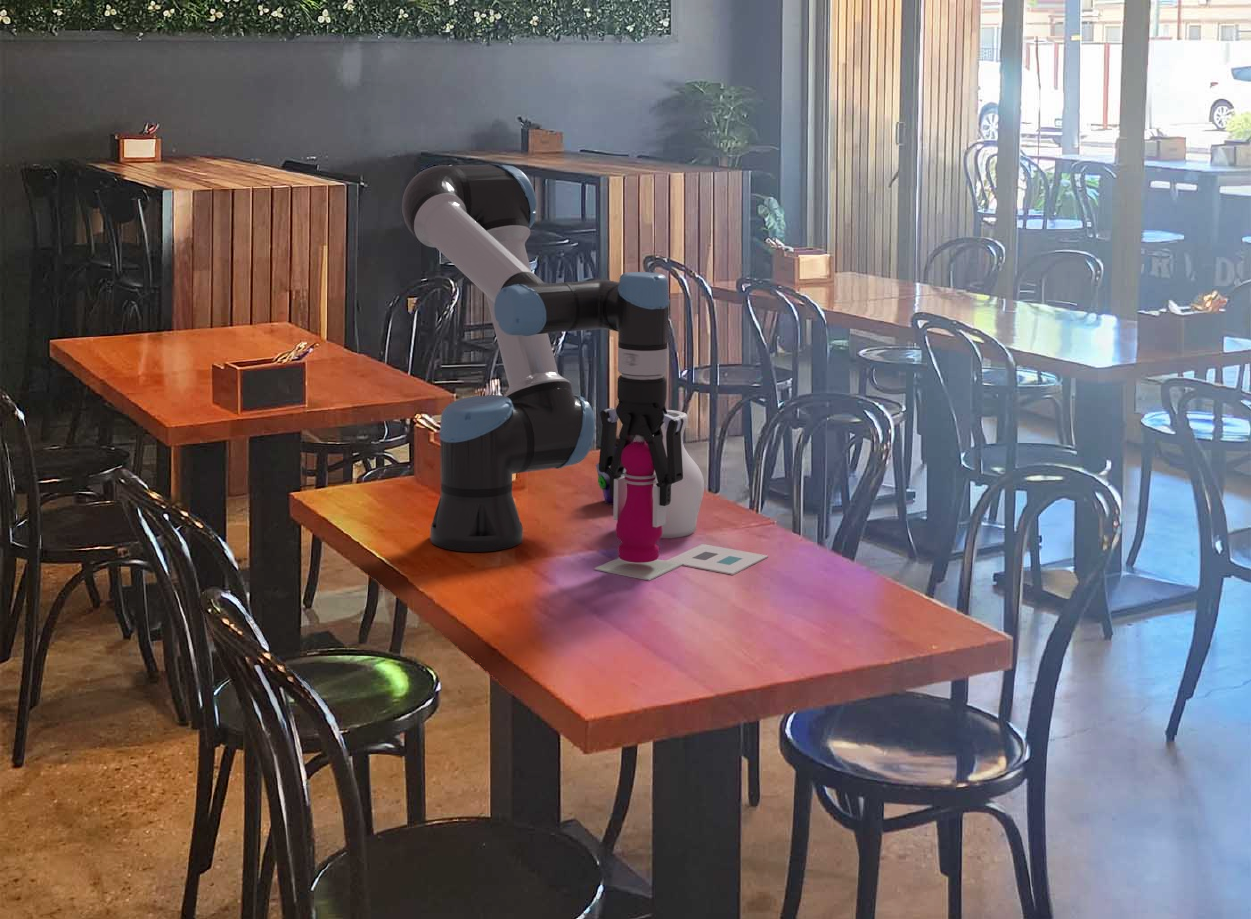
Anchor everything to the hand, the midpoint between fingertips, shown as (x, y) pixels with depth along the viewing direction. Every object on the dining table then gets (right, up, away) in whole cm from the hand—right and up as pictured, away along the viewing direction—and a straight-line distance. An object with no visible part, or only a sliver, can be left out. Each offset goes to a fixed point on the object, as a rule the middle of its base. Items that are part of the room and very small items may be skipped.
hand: (639, 521), depth 250 cm
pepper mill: (0, -6, +1) cm, 6 cm away
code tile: (+12, -6, +7) cm, 16 cm away
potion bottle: (-3, +2, +42) cm, 42 cm away
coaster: (0, -7, +2) cm, 7 cm away
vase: (+4, -2, +25) cm, 25 cm away
